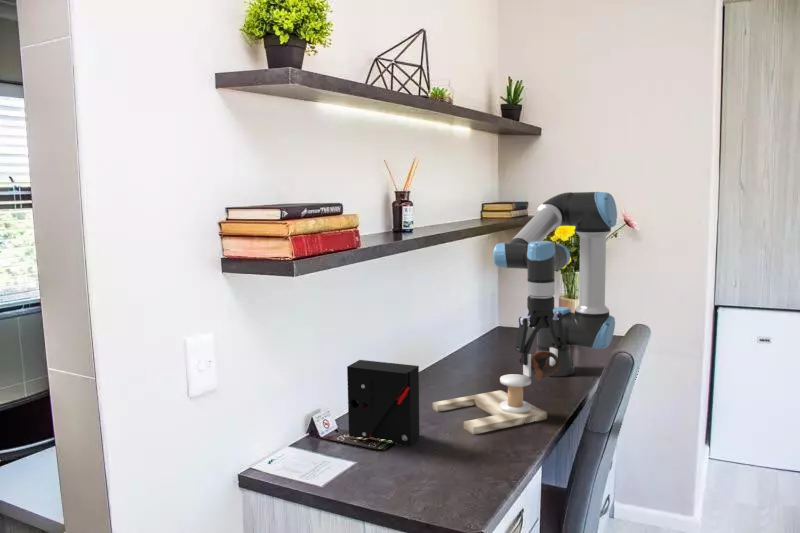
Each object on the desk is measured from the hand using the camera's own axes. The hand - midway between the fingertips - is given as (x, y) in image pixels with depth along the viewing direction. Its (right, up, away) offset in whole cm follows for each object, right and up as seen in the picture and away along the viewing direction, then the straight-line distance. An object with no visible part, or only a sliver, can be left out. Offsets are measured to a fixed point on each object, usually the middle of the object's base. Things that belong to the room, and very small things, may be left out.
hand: (540, 372), depth 182 cm
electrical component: (-45, -16, -11) cm, 49 cm away
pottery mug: (0, -1, 0) cm, 1 cm away
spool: (-7, -11, +4) cm, 14 cm away
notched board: (-15, -13, +5) cm, 20 cm away
